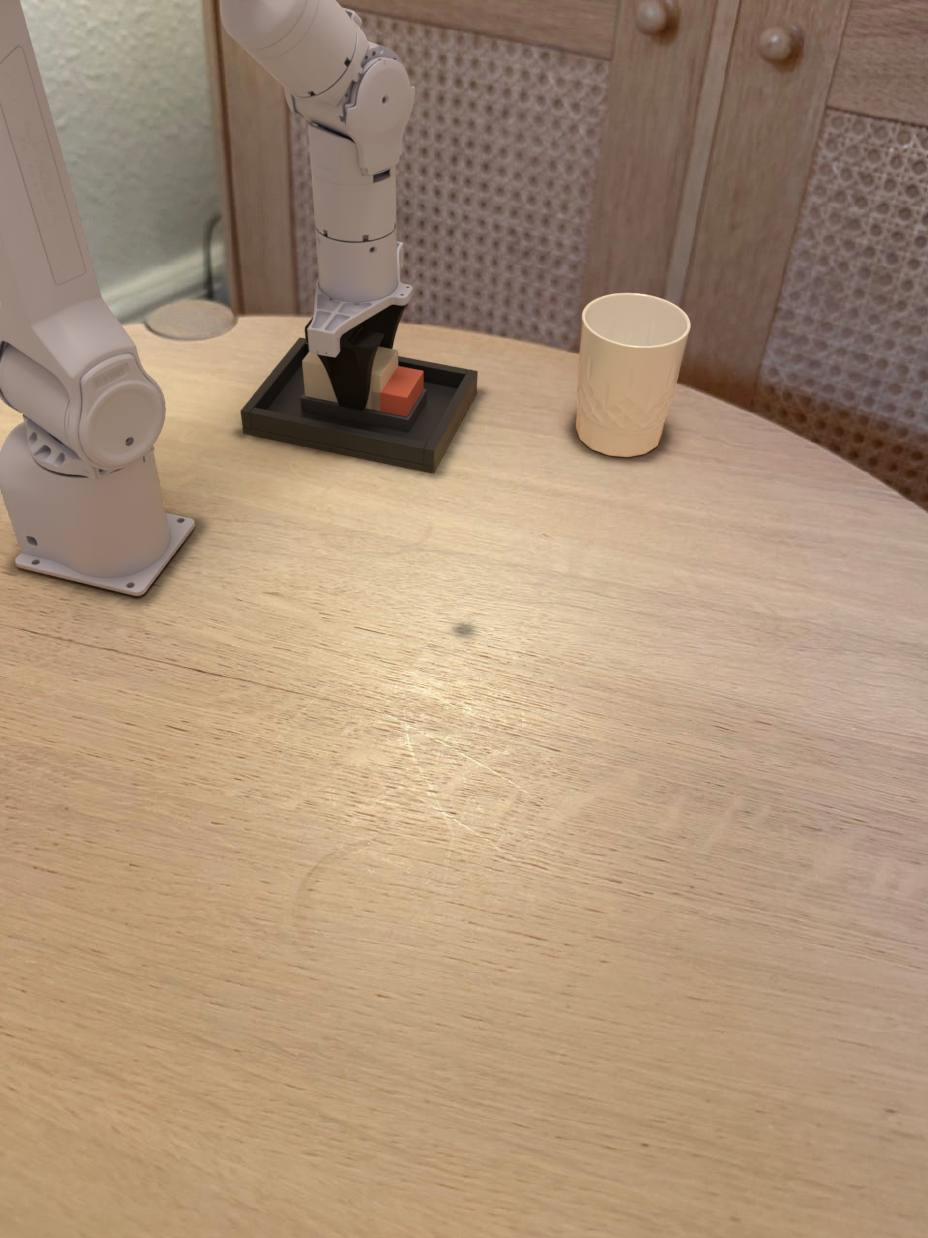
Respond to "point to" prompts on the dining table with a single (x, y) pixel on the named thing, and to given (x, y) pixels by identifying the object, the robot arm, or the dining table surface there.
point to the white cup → (628, 371)
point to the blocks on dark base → (389, 397)
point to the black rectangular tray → (420, 448)
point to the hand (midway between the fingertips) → (362, 390)
